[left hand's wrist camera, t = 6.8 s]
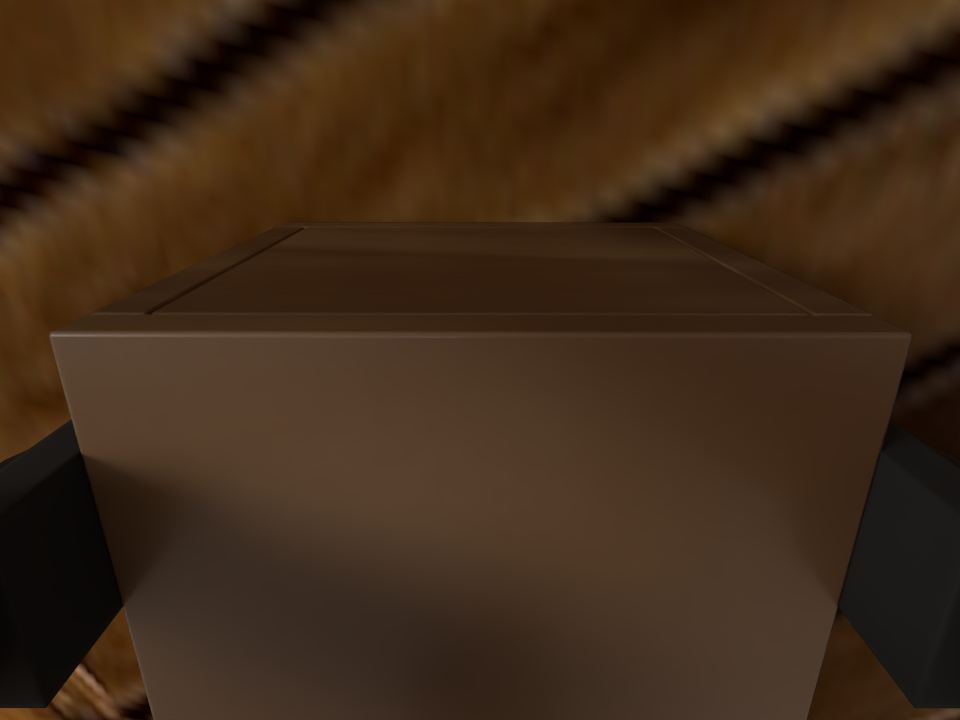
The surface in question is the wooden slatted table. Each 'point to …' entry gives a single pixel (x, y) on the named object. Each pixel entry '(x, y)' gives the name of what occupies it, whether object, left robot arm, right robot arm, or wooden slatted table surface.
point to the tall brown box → (480, 473)
